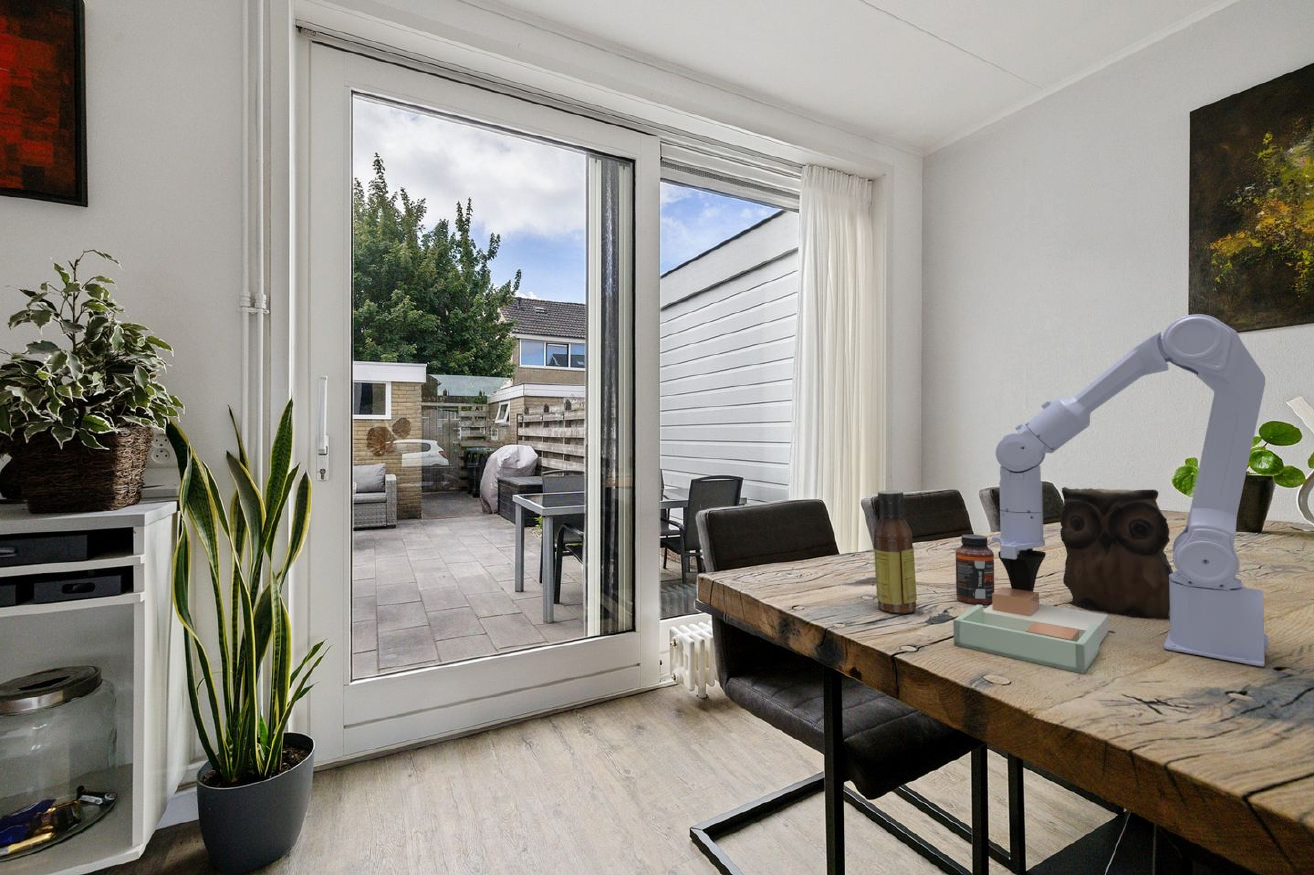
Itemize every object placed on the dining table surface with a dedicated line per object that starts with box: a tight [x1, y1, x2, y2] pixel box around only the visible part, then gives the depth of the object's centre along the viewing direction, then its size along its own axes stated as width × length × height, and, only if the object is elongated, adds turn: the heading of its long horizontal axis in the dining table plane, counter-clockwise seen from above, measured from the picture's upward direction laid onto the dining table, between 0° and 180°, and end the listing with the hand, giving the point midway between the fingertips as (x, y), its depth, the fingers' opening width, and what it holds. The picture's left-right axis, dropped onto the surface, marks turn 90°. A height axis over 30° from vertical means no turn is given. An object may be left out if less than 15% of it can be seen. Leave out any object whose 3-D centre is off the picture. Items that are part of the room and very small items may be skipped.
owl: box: [1059, 486, 1174, 620], centre depth 98 cm, size 13×13×20 cm
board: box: [983, 603, 1109, 645], centre depth 89 cm, size 14×10×2 cm
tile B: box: [991, 586, 1040, 616], centre depth 91 cm, size 5×5×2 cm
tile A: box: [1026, 622, 1079, 642], centre depth 80 cm, size 5×5×2 cm
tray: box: [952, 604, 1100, 675], centre depth 82 cm, size 15×10×4 cm, turn 45°
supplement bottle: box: [955, 534, 995, 605], centre depth 105 cm, size 6×6×11 cm
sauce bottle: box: [873, 490, 918, 615], centre depth 101 cm, size 6×6×20 cm
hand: (1022, 597), depth 94 cm, fingers closed
